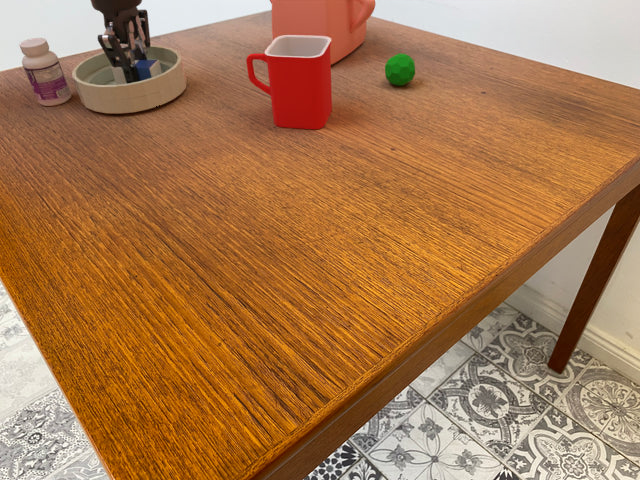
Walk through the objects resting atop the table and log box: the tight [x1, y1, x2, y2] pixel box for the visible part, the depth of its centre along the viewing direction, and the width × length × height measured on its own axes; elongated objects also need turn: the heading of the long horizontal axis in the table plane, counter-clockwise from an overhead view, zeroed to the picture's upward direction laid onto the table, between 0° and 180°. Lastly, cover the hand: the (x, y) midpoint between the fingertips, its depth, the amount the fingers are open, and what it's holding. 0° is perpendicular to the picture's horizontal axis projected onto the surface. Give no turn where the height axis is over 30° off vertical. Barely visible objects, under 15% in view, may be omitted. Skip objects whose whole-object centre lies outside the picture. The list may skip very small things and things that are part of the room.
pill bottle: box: [18, 37, 72, 107], centre depth 84 cm, size 5×5×10 cm
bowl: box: [71, 44, 188, 114], centre depth 86 cm, size 17×17×5 cm
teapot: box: [269, 0, 376, 65], centre depth 96 cm, size 20×22×14 cm
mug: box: [245, 35, 333, 130], centre depth 75 cm, size 12×8×11 cm
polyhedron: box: [384, 52, 416, 87], centre depth 84 cm, size 5×5×5 cm
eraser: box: [111, 60, 162, 85], centre depth 88 cm, size 7×4×4 cm, turn 82°
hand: (140, 82), depth 88 cm, fingers closed on eraser, 3 cm apart
